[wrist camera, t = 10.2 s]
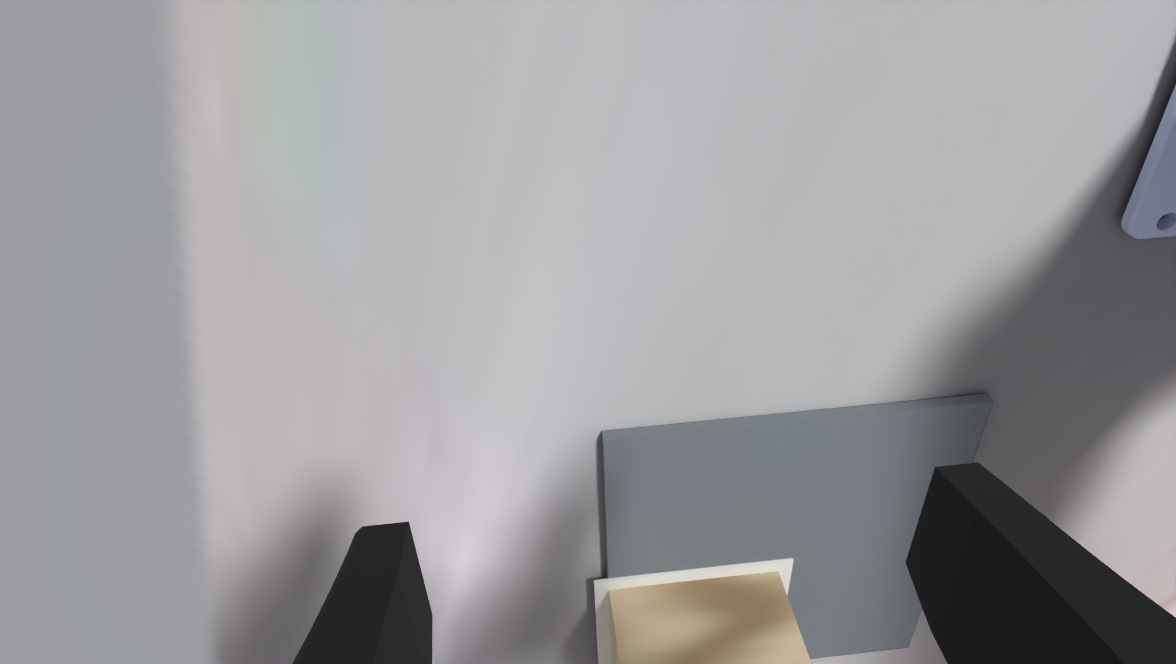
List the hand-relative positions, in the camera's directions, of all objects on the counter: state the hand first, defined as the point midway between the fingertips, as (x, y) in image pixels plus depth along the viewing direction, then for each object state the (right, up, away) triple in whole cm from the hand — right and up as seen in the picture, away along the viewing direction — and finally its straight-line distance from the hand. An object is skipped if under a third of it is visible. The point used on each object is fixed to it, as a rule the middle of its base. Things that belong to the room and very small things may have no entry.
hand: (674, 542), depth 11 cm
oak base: (+3, -8, +18) cm, 20 cm away
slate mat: (+5, -5, +17) cm, 18 cm away
